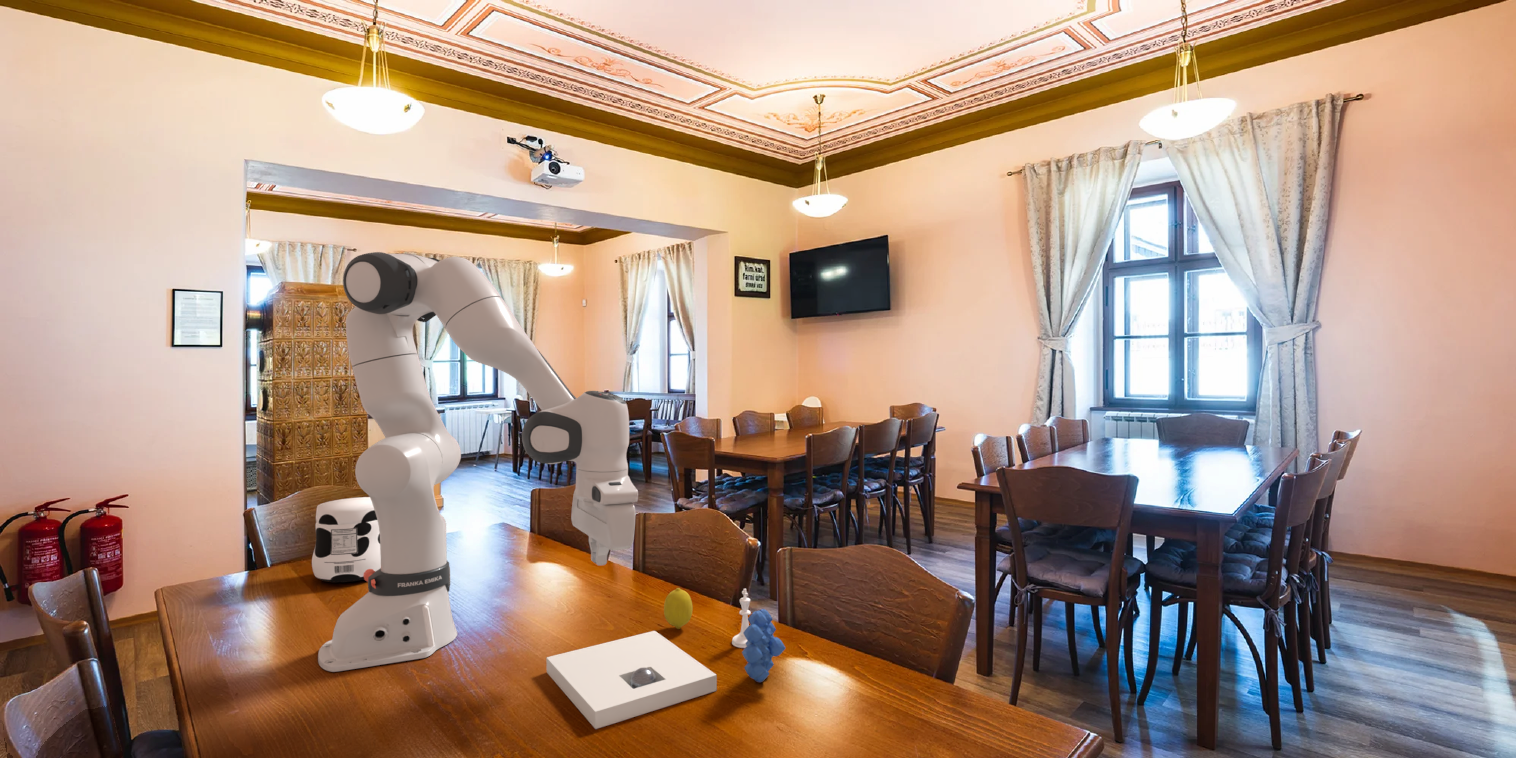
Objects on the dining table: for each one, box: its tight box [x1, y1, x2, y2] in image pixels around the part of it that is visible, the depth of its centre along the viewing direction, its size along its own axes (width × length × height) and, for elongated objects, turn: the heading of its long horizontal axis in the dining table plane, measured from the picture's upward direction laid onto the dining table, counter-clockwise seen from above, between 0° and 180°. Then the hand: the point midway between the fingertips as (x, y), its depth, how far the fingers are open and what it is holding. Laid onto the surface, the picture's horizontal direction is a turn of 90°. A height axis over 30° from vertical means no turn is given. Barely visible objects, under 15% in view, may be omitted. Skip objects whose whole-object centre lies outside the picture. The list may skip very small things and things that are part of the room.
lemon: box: [663, 587, 693, 630], centre depth 135 cm, size 6×6×8 cm
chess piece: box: [731, 588, 752, 649], centre depth 128 cm, size 5×5×10 cm
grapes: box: [741, 608, 786, 683], centre depth 112 cm, size 12×7×12 cm, turn 164°
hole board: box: [545, 630, 718, 730], centre depth 113 cm, size 20×22×2 cm
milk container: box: [311, 496, 381, 583], centre depth 168 cm, size 17×17×18 cm
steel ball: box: [630, 668, 656, 689], centre depth 108 cm, size 4×4×4 cm
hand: (598, 563), depth 121 cm, fingers closed
